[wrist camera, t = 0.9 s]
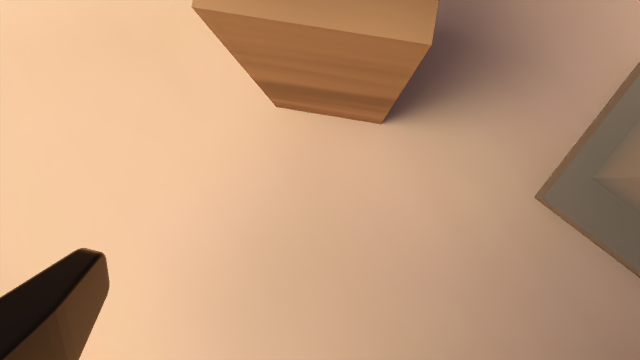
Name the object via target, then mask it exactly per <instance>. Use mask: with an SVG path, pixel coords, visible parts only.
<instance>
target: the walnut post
mask: <svg viewBox="0 0 640 360" xmlns="http://www.w3.org/2000/svg"><path fill="white" fill-rule="evenodd" d="M438 4H439V0H193V2H192V8H193V9H194V10H195V12H196V13H197V14H198V15H199V16H200V17H201V19H202V20H203V21H204V22H205V23H206V25H207V26H208V27H209V28H210V29H211V30H212V32H213V33H214V34H215V35H216V36H217V37H218V39H219V40H220V41H221V42H222V43H223V45H224V46H225V47H226V48H227V49H228V50H229V52H230V53H231V54H232V55H233V56H234V58H235V59H236V60H237V61H238V62H239V63H240V65H241V66H242V67H243V68H244V69H245V70H246V72H247V73H248V74H249V75H250V76H251V78H252V79H253V80H254V81H255V82H256V83H257V85H258V86H259V87H260V88H261V89H262V90H263V92H264V93H265V94H266V95H267V96H268V98H269V99H270V100H271V101H272V102H273V103H274V105H275V106H276V107H280V108H287V109H293V110H299V111H305V112H311V113H317V114H323V115H329V116H335V117H341V118H347V119H353V120H360V121H366V122H372V123H378V124H381V123H382V121H383V120H384V118H385V117H386V115H387V114H388V112H389V111H390V109H391V107H392V106H393V104H394V103H395V101H396V100H397V98H398V97H399V95H400V93H401V92H402V90H403V89H404V87H405V86H406V84H407V83H408V81H409V79H410V78H411V76H412V75H413V73H414V72H415V70H416V69H417V67H418V65H419V64H420V62H421V61H422V59H423V58H424V56H425V55H426V53H427V51H428V50H429V48H430V47H431V45H432V40H433V34H434V28H435V22H436V16H437V10H438Z"/></svg>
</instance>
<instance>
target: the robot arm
mask: <svg viewBox="0 0 640 360" xmlns="http://www.w3.org/2000/svg"><path fill="white" fill-rule="evenodd" d="M108 290H109V276H108V269H107V262H106V257H105V255H104V254H103V253H102V252H99V251H95V250H91V249H86V248H80V249H77V250H76V251H74V252H72V253H71V254H69V255H67V256H66V257H64V258H63V259H61V260H59V261H58V262H56V263H55V264H53V265H51V266H50V267H48V268H47V269H45V270H43V271H42V272H40V273H39V274H37V275H35V276H34V277H32V278H31V279H29V280H27V281H26V282H24V283H23V284H21V285H19V286H18V287H16V288H15V289H13V290H11V291H10V292H8V293H7V294H5V295H3V296H2V297H0V360H79V358H80V356H81V353H82V351H83V349H84V347H85V344H86V342H87V340H88V338H89V335H90V333H91V331H92V328H93V326H94V324H95V322H96V319H97V317H98V315H99V313H100V310H101V308H102V306H103V303H104V301H105V299H106V297H107V294H108Z"/></svg>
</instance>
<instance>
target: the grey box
mask: <svg viewBox="0 0 640 360" xmlns="http://www.w3.org/2000/svg"><path fill="white" fill-rule="evenodd" d="M535 198H536V199H537V200H538V201H540V202H541V203H542V204H544V205H545V206H546V207H548V208H549V209H550V210H552V211H553V212H554V213H556V214H557V215H558V216H560V217H561V218H562V219H564V220H565V221H566V222H567V223H569V224H570V225H571V226H573V227H574V228H575V229H577V230H578V231H579V232H581V233H582V234H583V235H585V236H586V237H587V238H589V239H590V240H591V241H593V242H594V243H595V244H596V245H598V246H599V247H600V248H602V249H603V250H604V251H606V252H607V253H608V254H610V255H611V256H612V257H614V258H615V259H616V260H618V261H619V262H620V263H622V264H623V265H624V266H625V267H627V268H628V269H629V270H631V271H632V272H633V273H635V274H636V275H637V276H639V277H640V62H639V64H638V65H637V66H636V68H635V69H634V70H633V71H632V73H631V74H630V75H629V77H628V78H627V79H626V80H625V82H624V83H623V84H622V86H621V87H620V88H619V89H618V91H617V92H616V93H615V95H614V96H613V97H612V98H611V100H610V101H609V102H608V104H607V105H606V106H605V107H604V109H603V110H602V111H601V112H600V114H599V115H598V116H597V118H596V119H595V120H594V121H593V123H592V124H591V125H590V127H589V128H588V129H587V130H586V132H585V133H584V134H583V136H582V137H581V138H580V139H579V141H578V142H577V143H576V145H575V146H574V147H573V148H572V150H571V151H570V152H569V154H568V155H567V156H566V157H565V159H564V160H563V161H562V163H561V164H560V165H559V166H558V168H557V169H556V170H555V172H554V173H553V174H552V175H551V177H550V178H549V179H548V180H547V182H546V183H545V184H544V186H543V187H542V188H541V189H540V191H539V192H538V193H537V195H536V196H535Z"/></svg>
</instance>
